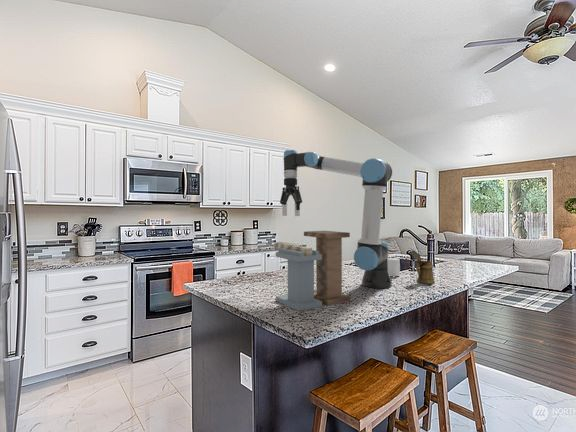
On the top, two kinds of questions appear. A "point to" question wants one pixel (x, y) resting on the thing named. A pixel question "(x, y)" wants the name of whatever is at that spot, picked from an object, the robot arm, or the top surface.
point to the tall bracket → (329, 266)
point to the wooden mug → (423, 269)
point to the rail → (294, 248)
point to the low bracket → (299, 280)
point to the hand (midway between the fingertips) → (290, 216)
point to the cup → (394, 266)
